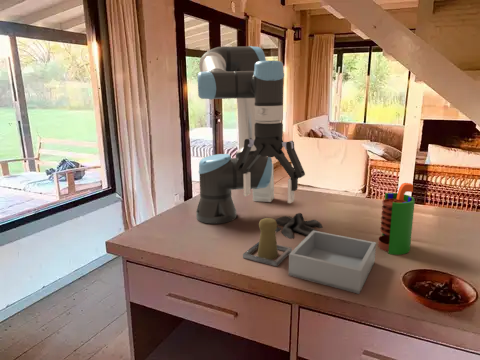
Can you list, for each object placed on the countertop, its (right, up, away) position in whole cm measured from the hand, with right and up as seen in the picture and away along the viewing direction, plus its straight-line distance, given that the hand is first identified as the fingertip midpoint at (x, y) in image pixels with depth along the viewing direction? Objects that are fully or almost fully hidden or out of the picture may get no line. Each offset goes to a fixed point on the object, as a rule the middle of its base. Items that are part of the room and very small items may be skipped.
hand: (268, 198), depth 102 cm
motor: (+39, -15, +8) cm, 42 cm away
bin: (+17, -19, -4) cm, 26 cm away
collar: (0, -17, +5) cm, 17 cm away
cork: (0, -17, +5) cm, 18 cm away
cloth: (+11, -13, +23) cm, 29 cm away
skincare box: (+2, -4, +55) cm, 55 cm away
